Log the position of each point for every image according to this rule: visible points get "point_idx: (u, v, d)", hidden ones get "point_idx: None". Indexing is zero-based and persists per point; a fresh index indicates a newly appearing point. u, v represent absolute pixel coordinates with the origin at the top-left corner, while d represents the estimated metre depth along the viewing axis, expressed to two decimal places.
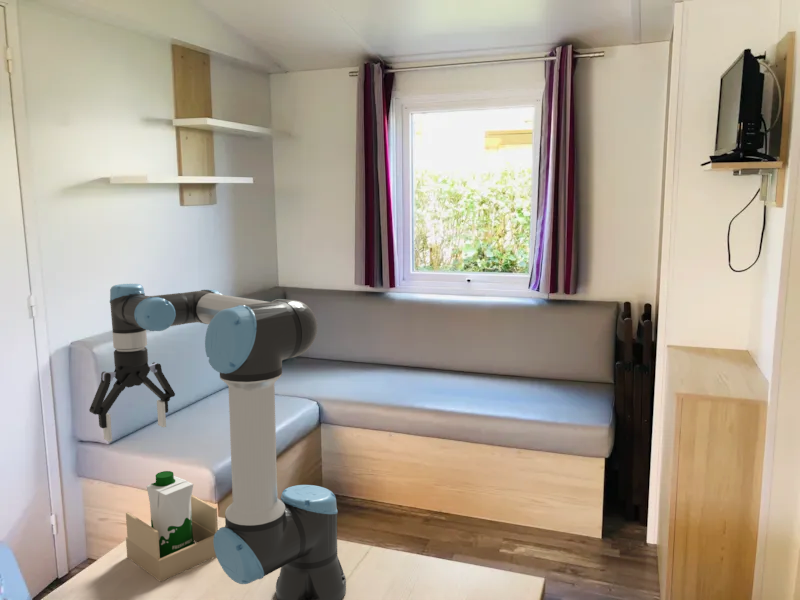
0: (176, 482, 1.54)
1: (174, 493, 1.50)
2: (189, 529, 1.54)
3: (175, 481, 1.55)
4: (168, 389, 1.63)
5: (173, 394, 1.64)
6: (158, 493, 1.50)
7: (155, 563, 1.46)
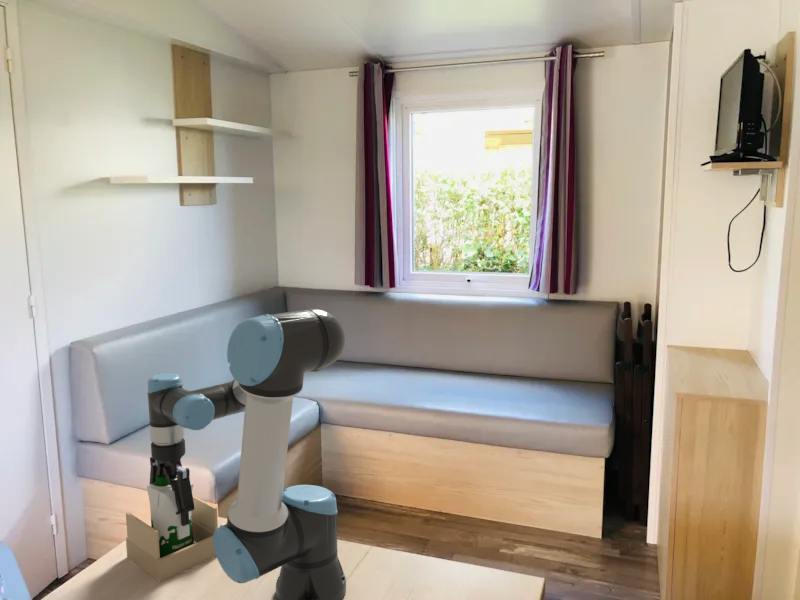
0: None
1: (174, 493, 1.50)
2: (189, 529, 1.54)
3: None
4: (181, 502, 1.48)
5: (183, 511, 1.48)
6: (158, 493, 1.50)
7: (155, 563, 1.46)
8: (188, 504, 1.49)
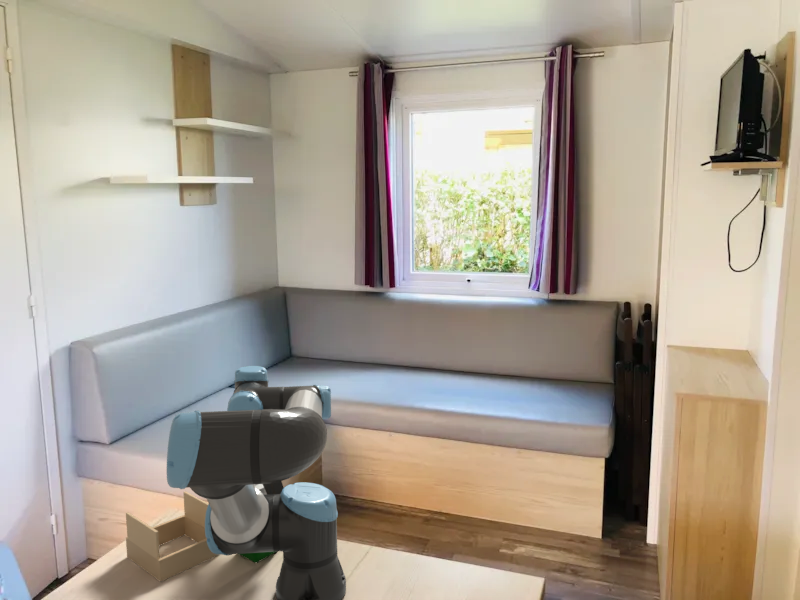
0: None
1: (260, 490, 1.51)
2: None
3: None
4: (273, 491, 1.48)
5: None
6: None
7: (155, 563, 1.46)
8: (279, 492, 1.48)
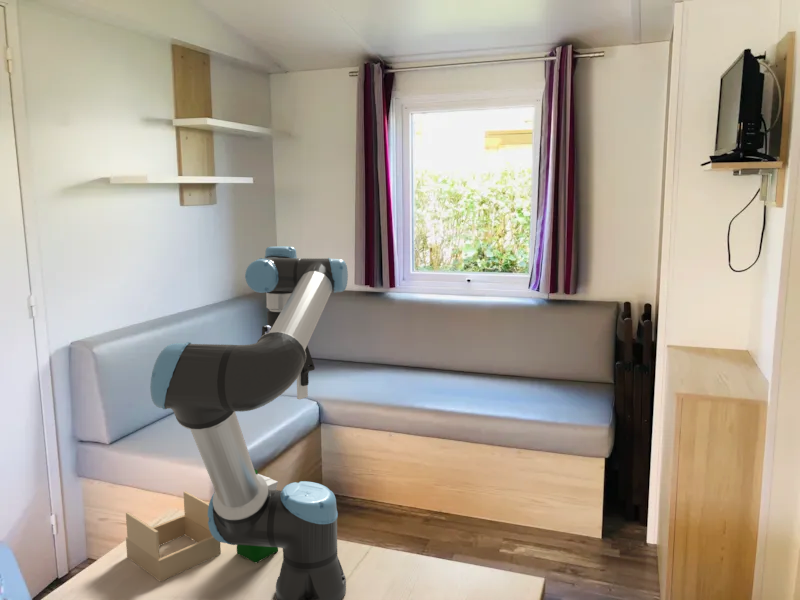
0: None
1: None
2: None
3: None
4: None
5: (305, 369, 1.54)
6: None
7: (155, 563, 1.46)
8: (308, 363, 1.55)
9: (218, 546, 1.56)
